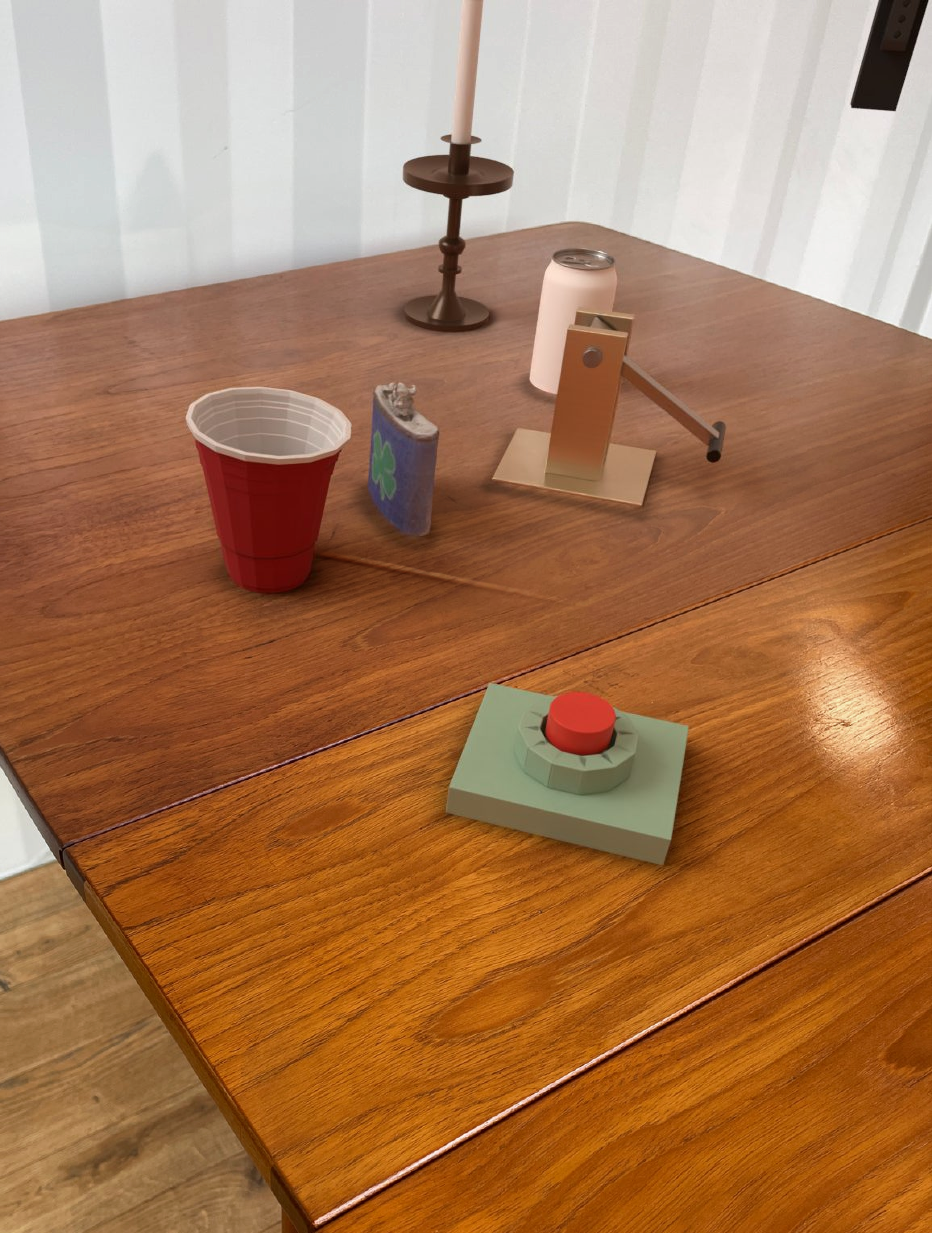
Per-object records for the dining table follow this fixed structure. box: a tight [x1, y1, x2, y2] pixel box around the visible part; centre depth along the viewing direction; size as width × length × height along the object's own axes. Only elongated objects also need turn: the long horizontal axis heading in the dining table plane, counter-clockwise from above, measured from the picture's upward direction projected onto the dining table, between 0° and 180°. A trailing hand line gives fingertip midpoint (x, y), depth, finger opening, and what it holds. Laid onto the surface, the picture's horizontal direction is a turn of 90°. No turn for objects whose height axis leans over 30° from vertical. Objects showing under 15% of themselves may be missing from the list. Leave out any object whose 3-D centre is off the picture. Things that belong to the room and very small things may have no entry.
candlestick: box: [402, 0, 515, 333], centre depth 107 cm, size 11×11×35 cm
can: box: [529, 247, 618, 395], centre depth 102 cm, size 6×6×12 cm
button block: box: [445, 682, 690, 866], centre depth 63 cm, size 12×10×4 cm
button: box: [545, 691, 616, 756], centre depth 62 cm, size 4×4×2 cm
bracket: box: [491, 307, 657, 508], centre depth 89 cm, size 12×10×13 cm
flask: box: [367, 382, 440, 537], centre depth 83 cm, size 9×3×11 cm, turn 20°
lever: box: [588, 317, 727, 464], centre depth 86 cm, size 14×6×2 cm, turn 72°
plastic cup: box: [185, 386, 352, 594], centre depth 76 cm, size 11×11×12 cm
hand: (872, 106), depth 72 cm, fingers closed
